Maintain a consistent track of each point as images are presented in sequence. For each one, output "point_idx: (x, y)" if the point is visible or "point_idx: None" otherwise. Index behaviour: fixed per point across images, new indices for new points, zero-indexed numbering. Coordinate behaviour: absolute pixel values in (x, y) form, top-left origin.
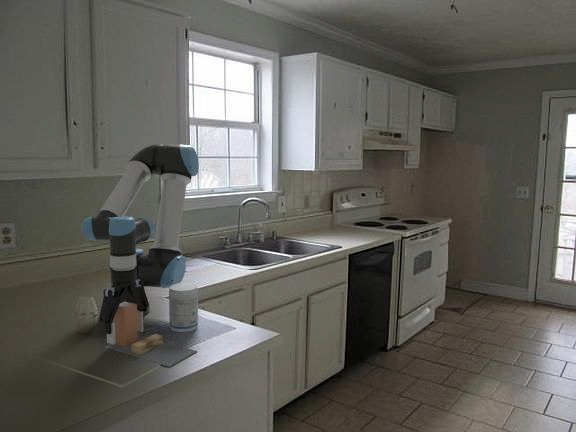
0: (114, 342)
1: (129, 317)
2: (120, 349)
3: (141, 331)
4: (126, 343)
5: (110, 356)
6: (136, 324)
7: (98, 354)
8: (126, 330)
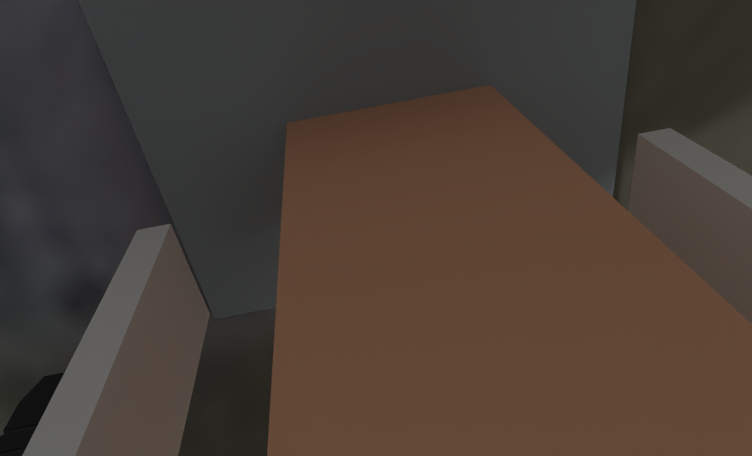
0: (665, 139)
1: (581, 373)
2: (580, 59)
3: (171, 231)
4: (489, 97)
5: (738, 4)
6: (305, 249)
7: (731, 150)
8: (557, 179)
